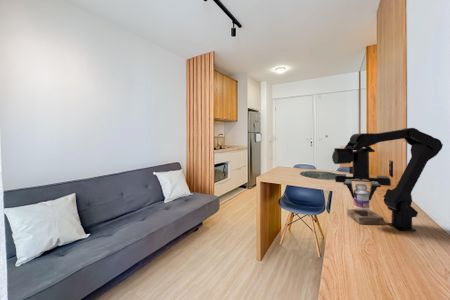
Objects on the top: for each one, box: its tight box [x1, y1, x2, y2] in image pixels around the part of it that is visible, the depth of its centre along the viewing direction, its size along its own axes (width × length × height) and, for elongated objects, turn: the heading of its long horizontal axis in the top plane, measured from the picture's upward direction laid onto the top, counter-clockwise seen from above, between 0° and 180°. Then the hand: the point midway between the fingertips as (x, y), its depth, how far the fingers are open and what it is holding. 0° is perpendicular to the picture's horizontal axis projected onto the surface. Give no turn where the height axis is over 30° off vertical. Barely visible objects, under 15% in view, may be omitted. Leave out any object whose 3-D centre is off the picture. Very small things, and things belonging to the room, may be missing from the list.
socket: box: [346, 208, 385, 225], centre depth 89 cm, size 10×10×3 cm
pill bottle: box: [353, 183, 370, 210], centre depth 82 cm, size 5×5×10 cm
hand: (361, 199), depth 82 cm, fingers closed on pill bottle, 5 cm apart
